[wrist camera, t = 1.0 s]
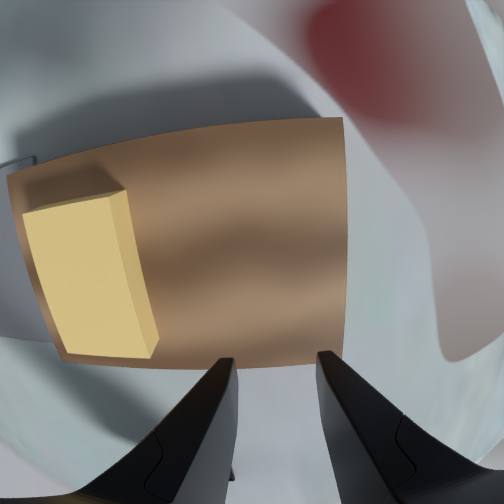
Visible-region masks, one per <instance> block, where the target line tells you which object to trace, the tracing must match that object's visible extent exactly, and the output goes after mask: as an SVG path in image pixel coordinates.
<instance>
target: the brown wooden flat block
mask: <svg viewBox="0 0 504 504" xmlns="http://www.w3.org/2000/svg"><path fill="white" fill-rule="evenodd" d="M6 179H7V186H8V192H9V198H10V203H11V208H12V213H13V218H14V222H15V227H16V231H17V235H18V239H19V243H20V247H21V251H22V254H23V258H24V261H25V265H26V268H27V271H28V274H29V278H30V281H31V284H32V287H33V290H34V293H35V296H36V298H37V301H38V304H39V307H40V309H41V312H42V314H43V317H44V320H45V322H46V325H47V327H48V329H49V332H50V334H51V337H52V339H53V341H54V343H55V346H56V348H57V350H58V352H59V354H60V357H61V359H62V361H65V362H73V363H82V364H92V365H103V366H115V367H130V368H149V369H189V370H205V369H210V368H211V367H212V366H213V365H214V364H215V362H216V361H217V360H218V359H219V358H222V357H233V358H234V359H235V363H236V369H246V368H266V367H281V366H294V365H305V364H315V363H316V356H317V352H318V351H325V350H331V351H333V352H334V353H335V354H336V355H337V356H339V357H340V358H341V359H342V350H343V338H344V324H345V307H346V286H347V239H348V225H347V179H346V157H345V141H344V127H343V117H327V118H296V119H278V120H264V121H252V122H242V123H232V124H223V125H215V126H207V127H200V128H193V129H187V130H180V131H174V132H168V133H163V134H157V135H152V136H146V137H141V138H136V139H132V140H127V141H122V142H118V143H114V144H109V145H105V146H101V147H97V148H93V149H89V150H85V151H82V152H78V153H74V154H71V155H67V156H64V157H60V158H57V159H54V160H50V161H47V162H44V163H41V164H38V165H35V166H32V167H29V168H26V169H23V170H20V171H17V172H14V173H12V174H9V175H6ZM121 190H126V191H127V197H128V203H129V209H130V215H131V220H132V226H133V231H134V236H135V241H136V246H137V251H138V255H139V260H140V264H141V269H142V273H143V278H144V282H145V286H146V290H147V294H148V298H149V302H150V306H151V310H152V313H153V317H154V321H155V324H156V328H157V331H158V335H159V338H160V339H159V341H158V343H157V345H156V347H155V349H154V351H153V353H152V356H151V358H150V359H148V358H125V357H108V356H94V355H83V354H72V353H67V350H66V348H65V346H64V344H63V341H62V339H61V337H60V334H59V332H58V329H57V327H56V324H55V322H54V319H53V317H52V314H51V311H50V309H49V306H48V303H47V300H46V298H45V295H44V292H43V289H42V286H41V283H40V280H39V277H38V273H37V270H36V267H35V263H34V260H33V256H32V253H31V249H30V245H29V241H28V237H27V233H26V229H25V225H24V220H23V216H22V214H24V213H26V212H28V211H31V210H33V209H36V208H38V207H41V206H44V205H48V204H53V203H57V202H62V201H67V200H72V199H77V198H82V197H87V196H92V195H98V194H103V193H109V192H115V191H121Z"/></svg>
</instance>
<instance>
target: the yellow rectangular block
mask: <svg viewBox="0 0 504 504" xmlns="http://www.w3.org/2000/svg"><path fill="white" fill-rule="evenodd" d="M22 216H23V220H24V225H25V229H26V233H27V237H28V241H29V245H30V249H31V253H32V256H33V260H34V263H35V267H36V270H37V273H38V277H39V280H40V283H41V286H42V289H43V292H44V295H45V298H46V300H47V303H48V306H49V309H50V311H51V314H52V317H53V319H54V322H55V324H56V327H57V329H58V332H59V334H60V337H61V339H62V341H63V344H64V346H65V348H66V350H67V353H72V354H83V355H94V356H108V357H125V358H148V359H150V358H151V356H152V353H153V351H154V349H155V347H156V345H157V343H158V341H159V339H160V338H159V335H158V331H157V328H156V324H155V321H154V317H153V313H152V310H151V306H150V302H149V298H148V294H147V290H146V286H145V282H144V278H143V273H142V269H141V264H140V260H139V255H138V251H137V246H136V241H135V236H134V231H133V226H132V220H131V215H130V209H129V203H128V197H127V191H126V190H121V191H115V192H109V193H103V194H98V195H92V196H87V197H82V198H77V199H72V200H67V201H62V202H57V203H53V204H48V205H44V206H41V207H38V208H36V209H33V210H31V211H28V212H26V213H24V214H22Z"/></svg>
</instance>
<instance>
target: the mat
mask: <svg viewBox="0 0 504 504" xmlns="http://www.w3.org/2000/svg"><path fill="white" fill-rule="evenodd" d="M35 165H36V161H35V156H32V157H29V158H26V159H23V160H21V161H18V162H15V163H13V164H10V165H8V166H5V167H3V168H0V336H3V337H10V338H17V339H25V340H33V341H41V342H51V343H54V341H53V339H52V337H51V334H50V332H49V329H48V327H47V325H46V322H45V320H44V317H43V314H42V312H41V309H40V307H39V304H38V301H37V298H36V296H35V293H34V290H33V287H32V284H31V281H30V278H29V274H28V271H27V268H26V265H25V261H24V258H23V254H22V251H21V247H20V243H19V239H18V235H17V231H16V227H15V222H14V218H13V213H12V208H11V203H10V198H9V192H8V186H7V179H6V175H9V174H12V173H14V172H17V171H20V170H23V169H26V168H29V167H32V166H35Z"/></svg>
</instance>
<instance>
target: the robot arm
mask: <svg viewBox="0 0 504 504" xmlns="http://www.w3.org/2000/svg"><path fill="white" fill-rule="evenodd" d="M316 382H317V390H318V398H319V406H320V415H321V422H322V427H323V431H324V435H325V439H326V443H327V447H328V451H329V455H330V459H331V463H332V467H333V471H334V475H335V479H336V483H337V487H338V491H339V495H340V499H341V503H342V504H504V470H493V469H488V468H484V467H482V466H479V465H477V464H475V463H474V462H472V461H470V460H469V459H467V458H465V457H464V456H462V455H460V454H459V453H457V452H456V451H454V450H453V449H451V448H449V447H448V446H446V445H445V444H443V443H442V442H440V441H439V440H437V439H436V438H434V437H433V436H431V435H430V434H428V433H427V432H426V431H424V430H423V429H422V428H421V427H419V426H418V425H417V424H416V423H414V422H413V421H412V420H411V419H410V418H409V417H407V416H406V415H403V412H401V411H400V410H399V409H398V408H397V407H396V406H394V405H393V404H392V403H391V402H390V401H389V400H387V399H386V398H385V397H384V396H383V395H382V394H381V393H379V392H378V391H377V390H376V389H375V388H374V387H373V386H371V385H370V384H369V383H368V382H367V381H366V380H365V379H363V378H362V377H361V376H360V375H359V374H358V373H357V372H356V371H354V370H353V369H352V368H351V367H350V366H349V365H348V364H346V363H345V362H344V361H343V360H342V359H341V358H340V357H339V356H337V355H336V354H335V353H334V352H333V351H331V350H325V351H318V352H317V356H316ZM237 423H238V375H237V369H236V363H235V359H234V358H233V357H222V358H219V359H218V360H217V361H216V362H215V364H214V365H213V366H212V367H211V368H210V369H209V370H208V371H207V372H206V373H205V375H204V376H203V377H202V378H201V379H200V380H199V381H198V382H197V383H196V384H195V385H194V387H193V388H192V389H191V390H190V391H189V392H188V393H187V394H186V395H185V396H184V397H183V398H182V399H181V401H180V402H179V403H178V404H177V405H176V406H175V407H174V408H173V409H172V410H171V411H170V412H169V413H168V414H167V415H166V416H165V417H164V418H163V419H162V421H161V422H160V423H159V424H158V425H157V426H156V427H155V428H154V429H153V431H151V432H150V433H149V434H148V435H147V436H146V437H145V438H144V439H143V440H142V441H141V442H140V443H139V444H138V445H137V446H136V447H134V448H133V449H132V450H131V451H130V452H129V453H128V454H126V455H125V456H124V457H123V458H122V459H120V460H119V461H118V462H117V463H115V464H114V465H113V466H111V467H110V468H109V469H107V470H106V471H105V472H104V473H102V474H101V475H99V476H98V477H97V478H95V479H94V480H93V481H91V482H90V483H89V484H87V485H86V486H84V487H83V488H81V489H79V490H77V491H75V492H72V493H69V494H65V495H57V496H47V497H32V498H0V504H225V499H226V494H227V488H228V482H229V481H234V480H235V476H234V473H233V469H232V466H231V464H232V458H233V452H234V446H235V440H236V434H237Z"/></svg>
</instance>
